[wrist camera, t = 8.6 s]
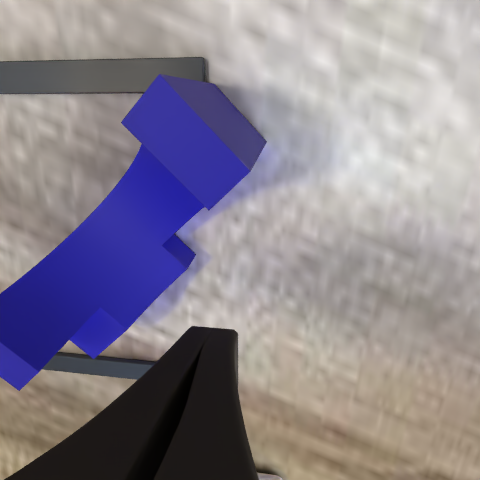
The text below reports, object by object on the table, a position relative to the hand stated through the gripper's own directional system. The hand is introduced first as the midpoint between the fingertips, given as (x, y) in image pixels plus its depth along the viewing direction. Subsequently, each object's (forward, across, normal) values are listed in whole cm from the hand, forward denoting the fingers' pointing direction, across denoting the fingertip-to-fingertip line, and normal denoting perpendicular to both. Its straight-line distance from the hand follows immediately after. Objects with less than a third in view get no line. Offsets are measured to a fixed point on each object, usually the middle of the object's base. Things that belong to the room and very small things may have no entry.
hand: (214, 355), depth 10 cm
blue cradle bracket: (+7, +4, -2) cm, 8 cm away
